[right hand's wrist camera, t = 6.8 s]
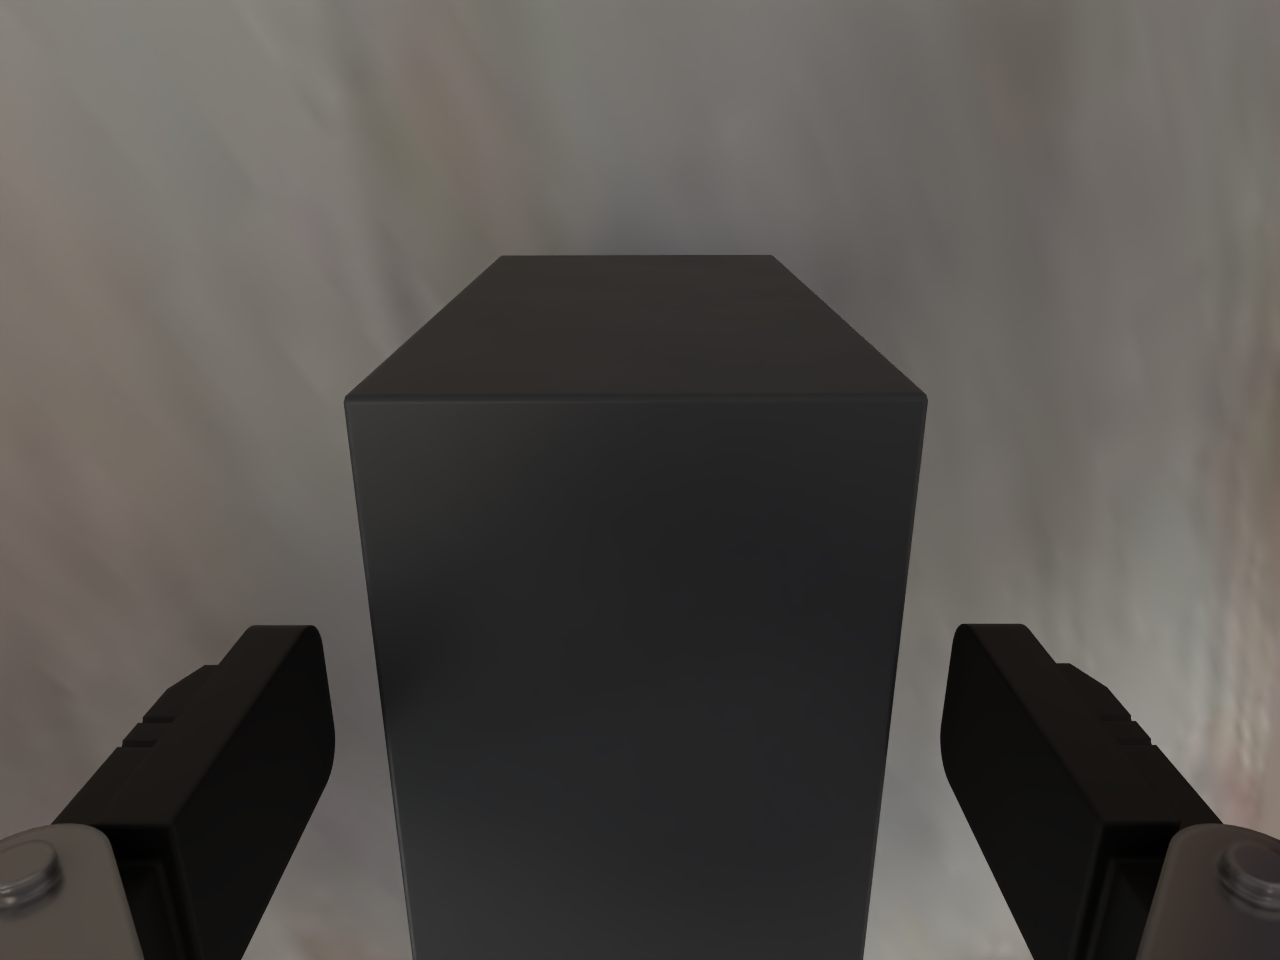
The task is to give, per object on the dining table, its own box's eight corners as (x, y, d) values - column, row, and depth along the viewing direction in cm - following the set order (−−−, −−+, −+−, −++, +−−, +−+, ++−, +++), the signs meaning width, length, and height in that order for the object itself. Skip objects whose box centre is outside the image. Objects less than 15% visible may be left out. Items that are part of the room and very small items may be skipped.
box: (499, 255, 20) (340, 396, 9) (773, 254, 20) (931, 394, 9) (544, 1059, 28) (490, 1601, 18) (733, 1058, 28) (790, 1599, 18)
